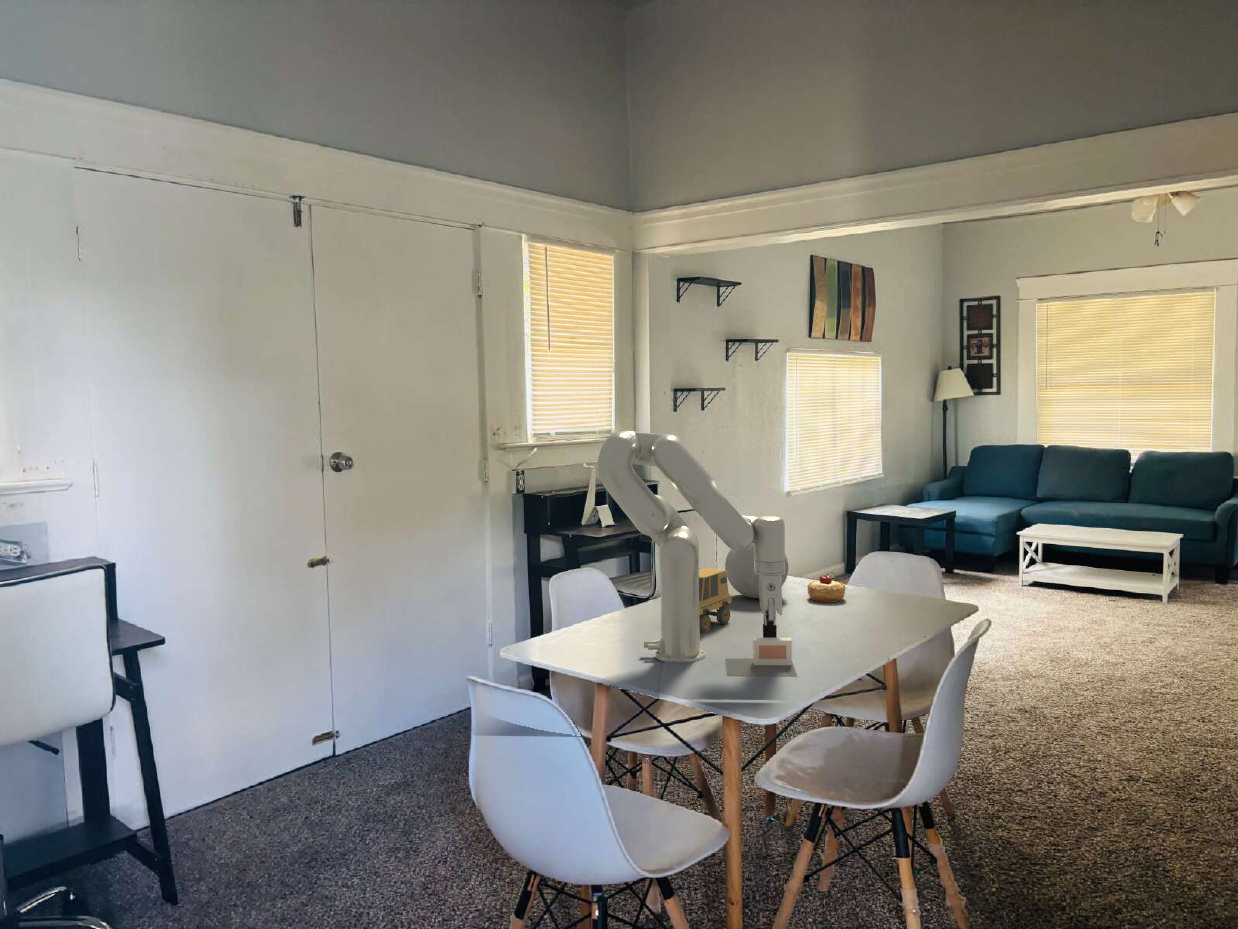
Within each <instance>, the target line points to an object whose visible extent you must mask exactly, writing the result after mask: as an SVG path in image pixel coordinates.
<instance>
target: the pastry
mask: <svg viewBox="0 0 1238 929" xmlns="http://www.w3.org/2000/svg"><path fill="white" fill-rule="evenodd" d="M829 574H833V575H835V577H838V576H837V574H836V573H835V572H833V571H828V572H827V574H826V575H823V574H822V575H821V576H819V579H818V580H816V581H812V582H811V581H810V582H809V583H808V585H807V594H808V597H809V598H810V600H811V601H814V600H815V601H814V602H818V601H823V602H822V603H836V602H835V601H839V602H841V601H840V600H842V601H843V599H844V596H845V594H846V585H845V584H844V583H843V582H841V581H838V580H837V581H835V580H833V579H832V577H830V576H829Z"/></svg>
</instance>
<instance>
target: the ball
mask: <svg viewBox="0 0 1238 929" xmlns="http://www.w3.org/2000/svg"><path fill="white" fill-rule="evenodd" d="M724 564H725V565H724V570H726V574H727V581H728V582H729V584H730V586H732V588H733V589H734V590H735V591H736V592H738V593H739V594H741V596H745V597H746V598H751V599H759V575H758V574H755V573H754V544H753V543H752V544H751V545H750V546H749V547H748V548H746V549H744V550H740V551H737V550H733V549H731V548H730V549H729V551H728V552H727V554H726V556H725V563H724ZM788 574H789V561H788V556H787V555H786V553H785V574H782V575H781V584H782V586H784V584H785V583H786V580H787V578H788Z"/></svg>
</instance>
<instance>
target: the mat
mask: <svg viewBox="0 0 1238 929" xmlns="http://www.w3.org/2000/svg"><path fill="white" fill-rule="evenodd" d="M725 671H726V676H727V677H770V678H771V677H773V678H775V677H776V678H777V677H778V678H780V677H781V678H782V677H784V678H787V677H791V678H795V677H798V674H797V672H796V668H795V666H794V663H793V661H792V665H754V664H753V658H725Z"/></svg>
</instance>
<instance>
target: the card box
mask: <svg viewBox="0 0 1238 929" xmlns="http://www.w3.org/2000/svg"><path fill="white" fill-rule="evenodd" d="M792 646H793V643H792V638H791V637H777V638H763V637H752V659H753V664H754V665H792V662H793V660H792V658H793V657H792V656H793V655H792V654H793V652H792V650H793V648H792Z"/></svg>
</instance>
